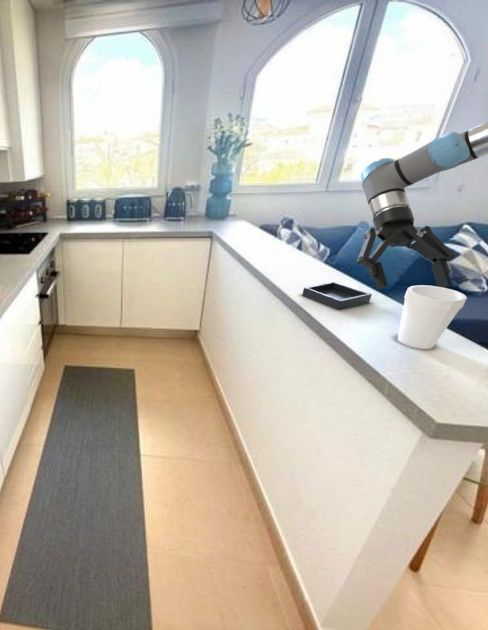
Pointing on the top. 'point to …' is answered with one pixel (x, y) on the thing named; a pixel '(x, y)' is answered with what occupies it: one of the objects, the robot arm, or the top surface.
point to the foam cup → (427, 314)
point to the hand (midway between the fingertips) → (413, 287)
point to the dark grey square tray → (336, 295)
